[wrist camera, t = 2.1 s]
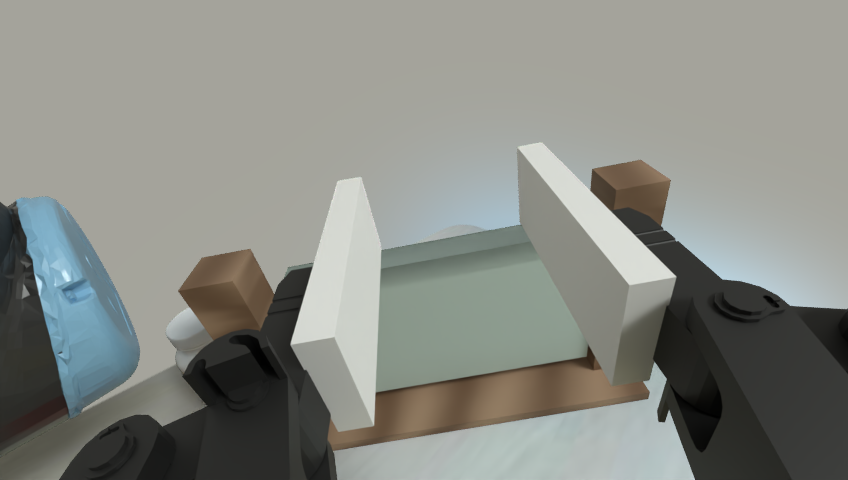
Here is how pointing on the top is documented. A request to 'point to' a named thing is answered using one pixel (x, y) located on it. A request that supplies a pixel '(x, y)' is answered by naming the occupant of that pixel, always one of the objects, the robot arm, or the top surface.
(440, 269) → the gate
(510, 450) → the top surface
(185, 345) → the supplement bottle
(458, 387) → the gate frame
